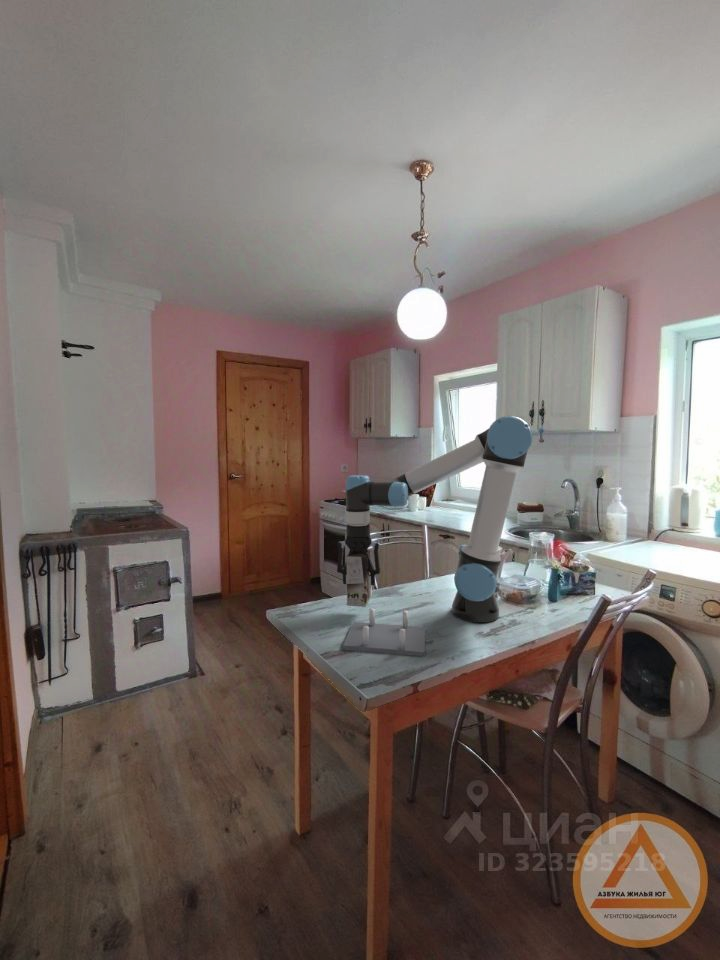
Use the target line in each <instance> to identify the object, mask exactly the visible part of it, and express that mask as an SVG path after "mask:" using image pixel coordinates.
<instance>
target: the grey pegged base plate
mask: <svg viewBox="0 0 720 960" xmlns="http://www.w3.org/2000/svg"><path fill="white" fill-rule="evenodd" d="M375 614H376V609H375V608H373V607H371V608H369V618H368V619H369V620H368V621H369V622H361V621H360V622H359V621H353V622H352V624H351V627H350V629H349V631H348V633H347V636H346V638H345V640H344V642H343V644H342V650H344V651H355V652H356V651H357V652H365V653H367V652H368V653H378V654H389V655H391V654H393V655H402V656H404V655H405V656H413V657H414V656H416V657H425V655H426V654H425V653H426V651H425V650H426V648H425V647H426V626H416V625H415V626H414V625H409V611H408V610H402V624H399V625H398V624H387V623H386V624H385V623H375V621H376V619H375V617H376V615H375Z"/></svg>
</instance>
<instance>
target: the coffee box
mask: <svg viewBox="0 0 720 960" xmlns="http://www.w3.org/2000/svg"><path fill="white" fill-rule="evenodd" d="M368 554H369V556H370V557H371V550H370V549H368ZM368 554H367V555H366V554H363V553H353V554H349V553H348V554H347V555H346V561H347V595H346V606H347V607H359V608H360V607H361V608H366V607H367V605H368V604H369V601H370V600H371V597H372V595H371V596H368V575H369V574H370V572H369V569H368Z"/></svg>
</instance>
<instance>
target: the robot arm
mask: <svg viewBox="0 0 720 960" xmlns="http://www.w3.org/2000/svg"><path fill="white" fill-rule="evenodd" d="M531 429H532V428H531V427H530V425H529V424H528V423H527V422H526V421H525V420H524V419H523V418H520V417H518V416H515V415H514V416H513V415H504V416H501V417H499V418H497V419H495V420H494V421H493V422H492V423H491V424H490V426H489V428H487V429H486V430H485V431H483V432H480V433H479V434H477V435H476V436H475V438H474V440H471V441H469V442H467V443H465V444H463V445H461V446H459V447H457V448H455V449H453V450H451V451H448V452H447V453H445V454H443V455H440V456H439V457H436V458H434V459H431V460H429V461H428V462H426V463H424V464H421V465H420V466H418V467H415V468H413V469H412V470H409V471H407V472H405V473H404V474H401V475H398V476H397V477H395V478H392V479H391V480H388V481H376V482H375V481H371V480H370V476H369V475H364V474H363V475H362V474H354V475H353V474H352V475H349V476H347V477H346V479H345V505H346V510H345V518H346V519H345V523H347V524H346V538H345V540H343V541H341V540H339V541H338V542H337V543H336V546H337V549H338V552H337V553H338V554H337V565H336V566H337V568H336V572H337V573H339V574H342V584H343V585H345V593H346V594H345V595H346V596H347V560H346V561H345V563H344V565H343V562H344V551H345V550H344V549H345V547H346V546H347V547H348V549H349V551H348V554H353V553H363V554H366V555H367V554H368V550H369V547H370V546H371V547H372V549H373V555H374V556H373V557H374V565H375V568H374V565H373V562H372V559H371V555H370V556H369V554H368V569H369V572H370V574H369V575H368V596H371V597H372V594H373V586H375V583H376V575H379V574H380V573H381V561H380V550H379V548H380V545H381V544H380V542H379V541H373V540H372V538H371V525H370V524H369V523H370V522H371V514H370V513H371V507H373V506H377V507H393V508H396V507H405V506H406V505H407V503H408V500H409V497H411V496H412V495H415V494H417V493H419V492H421V491H423V490H426V489H428V488H430V487H432V486H434V485H436V484H438V483H440V482H443V481H445V480H447V479H449V478H451V477H452V478H453V476H456V475H458V474H460V473H462V472H464V471H467V470H469V469H471V468H473V467H475V466H477V465H479V464H482V463H484V465H485V470H484V473H483V478H482V483H481V487H480V491H479V496H478V499H477V505H476V508H475V513H474V517H473V520H472V526H471V528H470V529H471V530H470V534H469V538H468V542H467V544H461V545H459V547H458V552H457V553H458V560H457V561H458V563H457V567H456V571H455V573H454V578H453V580H454V585H455V589H456V594H455V596H454V599H453V601H452V605H451V613H452V615H454V617H456V618H458V619H459V620H463V621H467V622H471V623H479V622H481V623H483V622H484V623H491V621H492V622H494V620H495V621H496V619H497V618H498V617H499V618H500V608H499V604H498V601H497V598H496V594H495V591H496V590H497V585H498V584H497V582H498V581H497V577H498V573H499V571H500V565H501V561H502V556H500V554H499V553H498V552H499V551H498V550H499V546H500V542H501V538H502V534H503V529H504V526H505V522H506V517H507V513H508V509H509V505H510V500H511V496H512V493H513V490H514V485H515V484H514V483H515V480H516V476H517V473H518V472H519V471H521V470H522V469H524V466H525V464H526V463H525V462H526V459H527V455H528V451H529V449H530V447H531V446H532V442H533V433H532V431H533V430H531ZM370 506H371V507H370ZM343 566H344V567H343ZM499 618H498V619H499ZM498 619H497V620H498ZM481 623H480V624H481Z"/></svg>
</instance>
